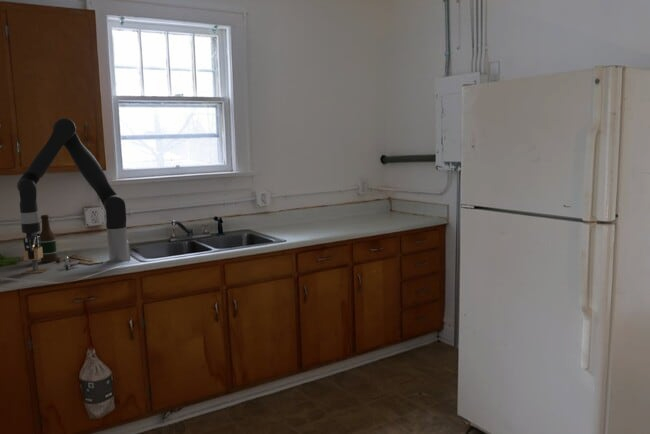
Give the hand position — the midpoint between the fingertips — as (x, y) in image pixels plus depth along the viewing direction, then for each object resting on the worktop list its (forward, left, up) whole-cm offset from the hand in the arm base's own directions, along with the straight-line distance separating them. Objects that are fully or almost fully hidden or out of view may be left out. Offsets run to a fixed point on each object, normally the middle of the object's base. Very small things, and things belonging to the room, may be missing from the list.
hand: (34, 257), depth 248 cm
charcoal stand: (-8, +11, -7) cm, 16 cm away
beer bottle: (-22, -16, -8) cm, 28 cm away
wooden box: (0, 0, -7) cm, 7 cm away
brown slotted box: (0, 0, 0) cm, 1 cm away
